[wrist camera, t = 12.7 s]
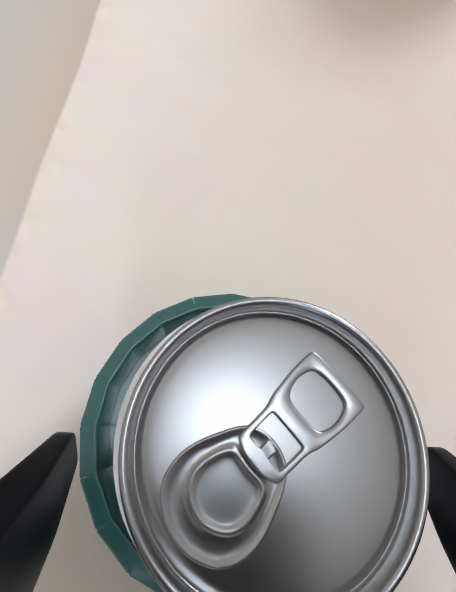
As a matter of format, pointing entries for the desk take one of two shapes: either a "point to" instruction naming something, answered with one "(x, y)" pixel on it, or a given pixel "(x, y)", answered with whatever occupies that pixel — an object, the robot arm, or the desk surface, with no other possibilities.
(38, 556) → the robot arm
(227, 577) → the can
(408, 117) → the desk surface
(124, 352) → the bowl
